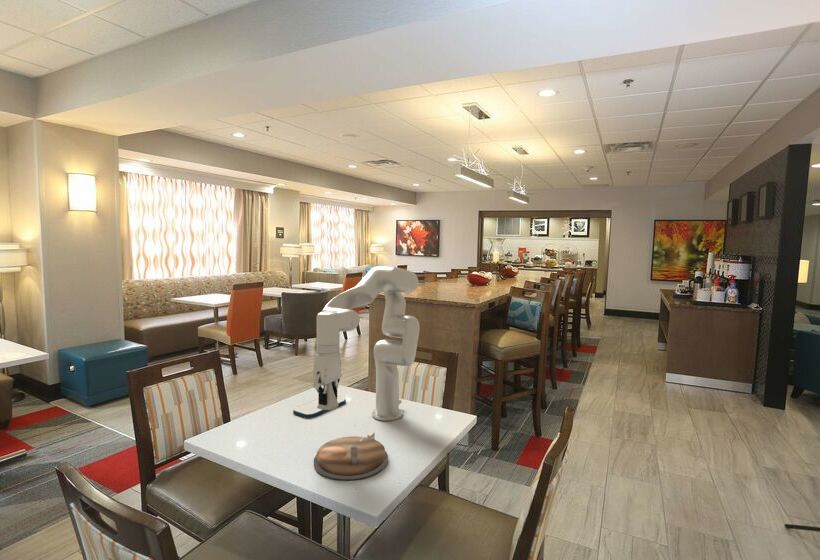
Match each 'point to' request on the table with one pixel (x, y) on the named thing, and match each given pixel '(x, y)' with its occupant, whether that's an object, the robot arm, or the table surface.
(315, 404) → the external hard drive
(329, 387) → the flask
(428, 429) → the table surface
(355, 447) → the turntable
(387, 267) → the robot arm
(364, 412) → the table surface
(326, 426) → the table surface
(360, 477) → the base
